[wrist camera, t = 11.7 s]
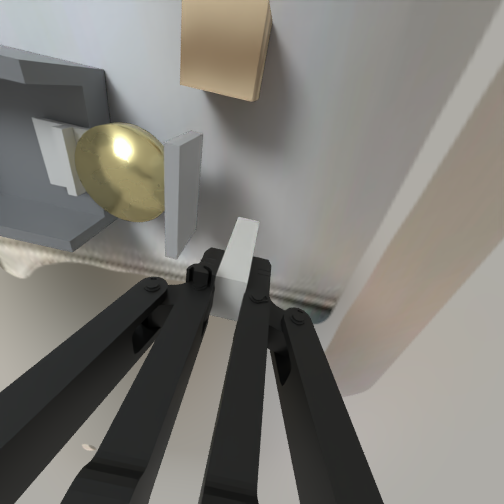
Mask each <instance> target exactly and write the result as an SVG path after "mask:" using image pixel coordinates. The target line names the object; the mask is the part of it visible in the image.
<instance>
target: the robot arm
mask: <svg viewBox="0 0 504 504" xmlns="http://www.w3.org/2000/svg"><path fill="white" fill-rule="evenodd" d="M259 222H260V221H255V220H251V219H247V218H242V217H238V219H237V222H236V224H235V227H234V230H233V232H232V235H231V238H230V240H229V243H228V245H227V248H226V251H225V250H221V249H216V248H212V247H211V248H210V249H208V250H207V251H205V253H204V255H203V258H202V259H201V262H200V263H198V264H193V265H191V266H189V267H188V268H187V274H186V283H184V284H179V285H168V284H167V282H166V280H164V279H162V278H160V277H148V278H145V279H143V280H141V281H140V282H138V283H137V284H136V285H135V286H133V287H132V288H131V289H130V290H128V291H127V292H126V293H125V294H124V295H122V296H121V297H120V298H118V299H117V300H116V301H115V302H113V303H112V304H111V305H110V306H108V307H107V308H106V309H105V310H103V311H102V312H101V313H99V314H98V315H97V316H96V317H95V318H93V319H92V320H91V321H89V322H88V323H87V324H86V325H84V326H83V327H82V328H81V329H79V330H78V331H77V332H76V333H74V334H73V335H72V336H71V337H69V338H68V339H67V340H66V341H64V342H63V343H62V344H61V345H59V346H58V347H57V348H55V349H54V350H53V351H52V352H51V353H49V354H48V355H47V356H46V357H44V358H43V359H42V360H40V361H39V362H38V363H37V364H36V365H34V366H33V367H32V368H30V369H29V370H28V371H27V372H25V373H24V374H23V375H22V376H20V377H19V378H18V379H17V380H15V381H14V382H13V383H12V384H10V385H9V386H8V387H6V388H5V389H4V390H3V391H1V392H0V504H14V503H15V502H16V501H17V500H18V498H19V497H20V496H21V495H22V494H23V493H24V492H25V490H26V489H27V488H28V487H29V486H30V485H31V483H32V482H33V481H34V480H35V479H36V478H37V476H38V475H39V474H40V473H41V472H42V471H43V470H44V468H45V467H46V466H47V465H48V464H49V463H50V462H51V460H52V459H53V458H54V457H55V456H56V454H57V453H58V452H59V451H60V450H61V449H62V448H63V446H64V445H65V444H66V443H67V442H68V441H69V439H70V438H71V437H72V436H73V435H74V434H75V433H76V431H77V430H78V429H79V428H80V427H81V426H82V424H83V423H84V422H85V421H86V420H87V419H88V417H89V416H90V415H91V414H92V413H93V412H94V411H95V409H96V408H97V407H98V406H99V405H100V403H101V402H102V401H103V400H104V399H105V398H106V397H107V396H108V394H109V393H110V392H111V391H112V390H113V389H114V387H115V386H116V385H117V384H118V383H119V382H120V380H121V379H122V378H123V377H124V376H125V375H126V374H127V372H128V371H129V370H130V369H131V368H132V366H133V365H134V364H135V363H136V362H137V361H138V360H139V358H140V357H141V356H142V355H143V354H144V353H145V351H146V350H147V349H148V348H149V347H150V346H151V345H152V343H153V342H154V341H155V342H154V344H153V346H152V348H151V350H150V352H149V354H148V356H147V358H146V359H145V361H144V363H143V365H142V367H141V369H140V371H139V373H138V375H137V377H136V379H135V380H134V382H133V384H132V386H131V388H130V390H129V392H128V394H127V396H126V397H125V399H124V401H123V403H122V405H121V407H120V409H119V411H118V413H117V415H116V417H115V418H114V420H113V422H112V424H111V426H110V428H109V430H108V432H107V434H106V436H105V437H104V439H103V441H102V443H101V445H100V447H99V449H98V451H97V453H96V454H95V456H94V457H93V459H92V460H91V461H90V462H89V463H88V464H87V465H85V466H84V467H83V468H82V470H81V471H80V472H79V473H78V475H77V476H76V478H75V479H74V481H73V482H72V484H71V486H70V487H69V489H68V491H67V493H66V494H65V496H64V498H63V500H62V502H61V504H148V503H149V499H150V495H151V492H152V489H153V486H154V483H155V479H156V477H157V474H158V471H159V468H160V465H161V462H162V459H163V456H164V453H165V450H166V447H167V444H168V441H169V438H170V435H171V432H172V429H173V426H174V423H175V420H176V417H177V414H178V411H179V408H180V405H181V402H182V399H183V396H184V393H185V390H186V387H187V384H188V381H189V378H190V375H191V372H192V369H193V366H194V363H195V360H196V357H197V354H198V351H199V348H200V345H201V342H202V339H203V336H204V333H205V330H206V327H207V324H208V318H209V315H212V316H216V317H221V318H225V319H230V320H234V321H237V325H236V329H235V333H234V337H233V343H232V348H231V352H230V357H229V362H228V366H227V371H226V376H225V381H224V385H223V390H222V394H221V399H220V404H219V408H218V413H217V418H216V422H215V427H214V432H213V436H212V441H211V446H210V451H209V455H208V460H207V465H206V469H205V474H204V478H203V483H202V488H201V493H200V497H199V502H198V504H259V503H258V499H257V482H258V468H259V467H258V466H259V454H260V440H261V426H262V412H263V399H264V385H265V371H266V357H267V348H268V349H270V353H271V358H272V364H273V369H274V373H275V378H276V384H277V389H278V393H279V399H280V404H281V409H282V414H283V419H284V424H285V429H286V434H287V439H288V444H289V449H290V454H291V460H292V464H293V470H294V475H295V479H296V485H297V490H298V495H299V500H300V504H384V503H383V500H382V498H381V495H380V493H379V490H378V488H377V485H376V483H375V480H374V478H373V475H372V473H371V470H370V467H369V465H368V462H367V460H366V457H365V455H364V452H363V450H362V447H361V445H360V442H359V440H358V437H357V435H356V432H355V429H354V427H353V425H352V422H351V419H350V417H349V414H348V412H347V409H346V407H345V404H344V402H343V399H342V397H341V394H340V391H339V389H338V386H337V384H336V381H335V379H334V376H333V374H332V371H331V369H330V366H329V364H328V361H327V359H326V356H325V354H324V351H323V349H322V346H321V344H320V341H319V338H318V336H317V333H316V331H315V329H314V326H313V323H312V321H311V318H310V317H309V315H308V314H307V313H306V312H305V311H303V310H301V309H299V308H288V309H287V310H283V309H281V308H279V307H277V306H276V305H275V304H274V303H273V302H272V301H271V300H270V297H269V289H270V276H271V264H270V262H269V260H266V259H262V258H258V257H253V252H254V247H255V242H256V237H257V232H258V227H259Z"/></svg>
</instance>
